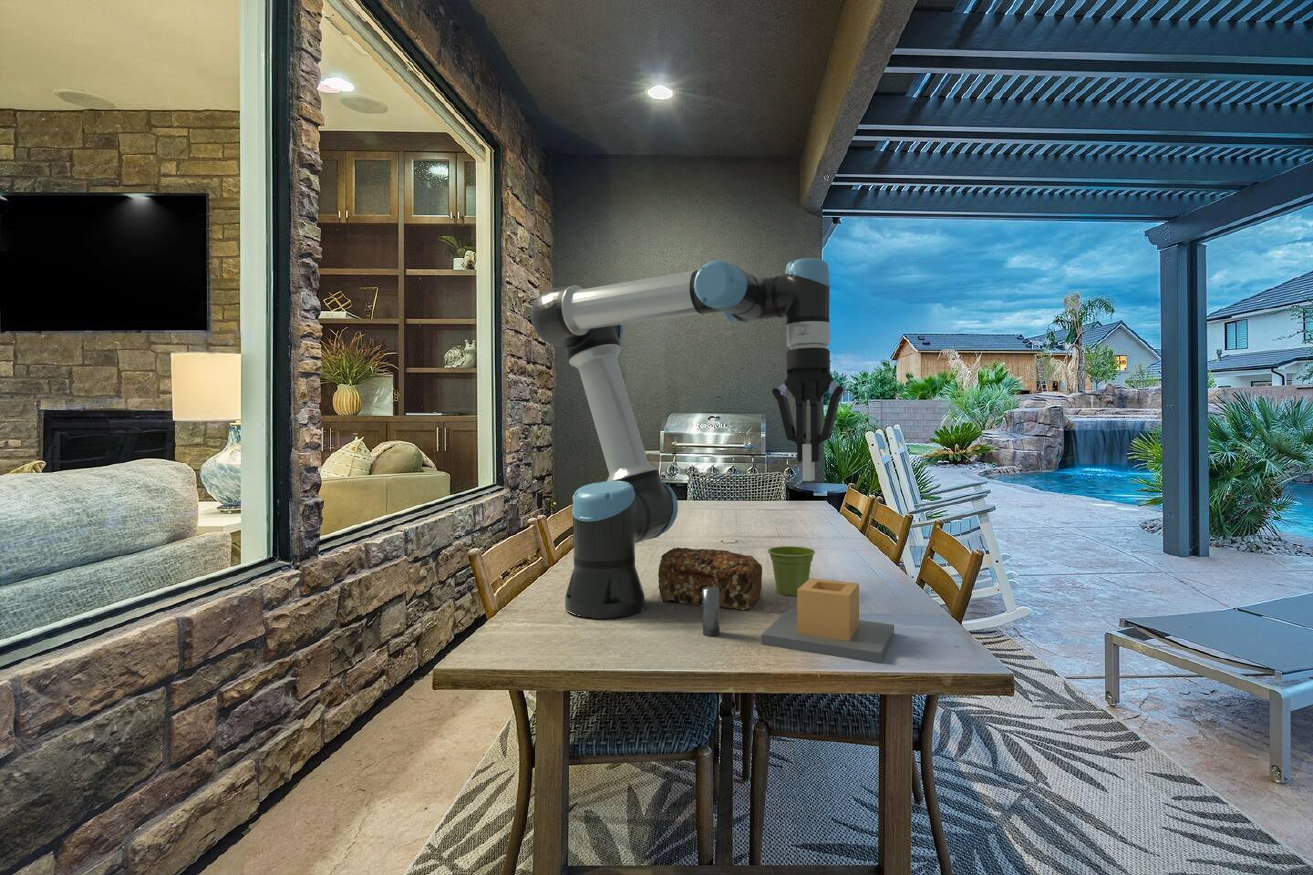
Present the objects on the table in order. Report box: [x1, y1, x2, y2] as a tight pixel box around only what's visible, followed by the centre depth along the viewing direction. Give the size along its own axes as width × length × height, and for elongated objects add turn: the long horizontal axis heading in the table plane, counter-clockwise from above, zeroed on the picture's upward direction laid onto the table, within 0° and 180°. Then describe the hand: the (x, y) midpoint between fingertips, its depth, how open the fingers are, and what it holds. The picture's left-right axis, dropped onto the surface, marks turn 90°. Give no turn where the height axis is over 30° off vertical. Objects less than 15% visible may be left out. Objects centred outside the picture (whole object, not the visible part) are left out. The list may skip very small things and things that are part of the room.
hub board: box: [760, 610, 895, 664], centre depth 102 cm, size 18×14×8 cm
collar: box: [796, 577, 860, 641], centre depth 102 cm, size 8×8×7 cm
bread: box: [657, 547, 763, 611], centre depth 125 cm, size 19×11×10 cm, turn 66°
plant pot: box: [767, 545, 816, 597], centre depth 130 cm, size 9×9×9 cm
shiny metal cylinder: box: [701, 587, 721, 637], centre depth 106 cm, size 3×3×8 cm
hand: (808, 480), depth 114 cm, fingers closed
